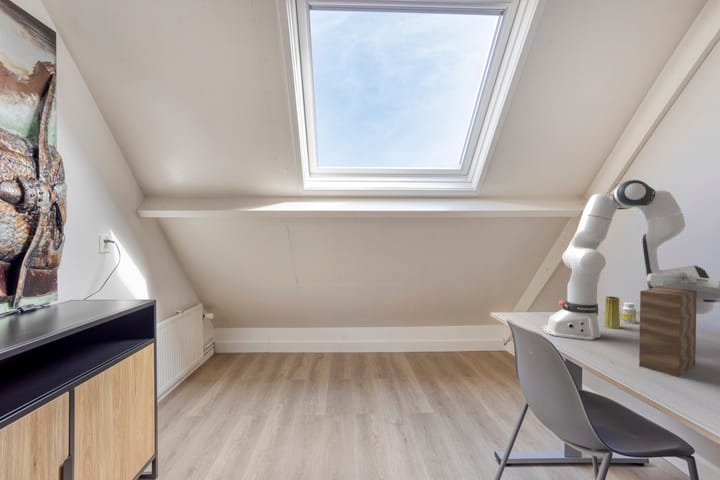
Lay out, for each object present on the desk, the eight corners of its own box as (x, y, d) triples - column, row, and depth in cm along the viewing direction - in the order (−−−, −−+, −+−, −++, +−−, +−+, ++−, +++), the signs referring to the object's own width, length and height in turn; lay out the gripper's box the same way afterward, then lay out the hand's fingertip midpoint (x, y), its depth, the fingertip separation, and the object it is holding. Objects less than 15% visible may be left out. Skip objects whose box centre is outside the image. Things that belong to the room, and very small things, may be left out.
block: (662, 285, 105) (663, 276, 105) (650, 284, 108) (651, 275, 107) (686, 279, 116) (686, 271, 116) (675, 278, 119) (675, 270, 119)
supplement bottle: (627, 323, 162) (628, 304, 161) (619, 320, 167) (619, 302, 167) (638, 323, 162) (638, 304, 161) (629, 320, 167) (629, 301, 167)
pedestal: (678, 377, 104) (679, 296, 103) (639, 366, 112) (640, 291, 112) (695, 365, 112) (696, 290, 111) (657, 356, 121) (658, 286, 120)
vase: (623, 329, 153) (623, 299, 153) (608, 328, 154) (608, 298, 154) (615, 325, 159) (615, 296, 159) (601, 324, 160) (601, 296, 160)
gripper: (654, 279, 131) (642, 264, 125) (730, 286, 114) (720, 269, 107) (651, 293, 130) (638, 279, 124) (727, 303, 112) (717, 286, 106)
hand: (677, 274), depth 115 cm, fingers closed on block, 3 cm apart
